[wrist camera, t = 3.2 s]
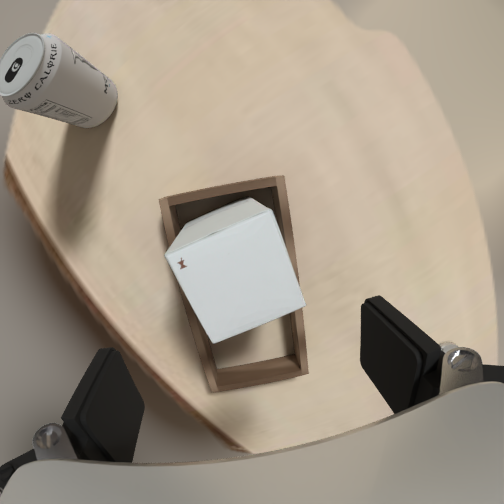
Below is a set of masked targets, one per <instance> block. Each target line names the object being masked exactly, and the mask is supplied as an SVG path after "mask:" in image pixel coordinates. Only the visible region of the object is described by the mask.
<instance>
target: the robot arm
mask: <svg viewBox="0 0 504 504" xmlns="http://www.w3.org/2000/svg"><path fill="white" fill-rule="evenodd" d="M360 362H361V366H362V368H363V369H364V371H365V372H366V374H367V375H368V376H369V378H370V379H371V381H372V382H373V383H374V385H375V386H376V388H377V389H378V391H379V392H380V394H381V395H382V396H383V398H384V399H385V401H386V402H387V404H388V405H389V406H390V408H391V409H392V411H393V412H394V415H391V416H389V417H386V418H384V419H381V420H378V421H376V422H373V423H370V424H368V425H365V426H362V427H359V428H356V429H353V430H350V431H347V432H344V433H341V434H338V435H335V436H331V437H328V438H324V439H321V440H317V441H313V442H310V443H306V444H302V445H298V446H293V447H289V448H285V449H280V450H275V451H270V452H265V453H259V454H253V455H247V456H241V457H234V458H226V459H217V460H207V461H195V462H177V463H132V460H133V456H134V451H135V447H136V442H137V438H138V433H139V429H140V425H141V421H142V416H143V413H144V401H143V399H142V397H141V395H140V393H139V392H138V390H137V388H136V386H135V384H134V382H133V380H132V378H131V375H130V374H129V371H128V369H127V367H126V365H125V363H124V360H123V358H122V356H121V354H120V352H119V351H116V350H115V349H114V348H103V349H102V348H101V349H99V350H98V352H97V353H96V355H95V357H94V359H93V360H92V362H91V364H90V366H89V367H88V369H87V371H86V372H85V374H84V376H83V378H82V379H81V381H80V383H79V385H78V387H77V388H76V390H75V392H74V394H73V396H72V398H71V399H70V401H69V403H68V405H67V407H66V409H65V411H64V413H63V415H62V417H61V419H62V420H63V421H64V423H63V425H62V426H61V425H60V424H57V423H49V424H46V425H44V426H42V427H41V428H40V429H38V430H37V431H36V433H35V435H34V437H33V447H34V449H32V450H30V451H29V452H27V453H25V454H23V455H21V456H19V457H17V458H15V459H13V460H11V461H9V462H7V463H5V464H4V465H2V466H1V467H0V504H504V366H496V365H483V364H482V359H481V356H480V355H479V354H478V353H477V352H476V351H474V350H472V349H470V348H465V347H458V346H457V345H456V344H454V343H452V342H446V343H442V344H440V345H438V344H437V343H436V342H435V341H434V340H433V339H432V338H430V337H429V336H428V335H427V334H426V333H425V332H423V331H422V330H421V329H420V328H419V327H417V326H416V325H415V324H414V323H413V322H412V321H410V320H409V319H408V318H407V317H406V316H404V315H403V314H402V313H401V312H400V311H398V310H397V309H396V308H395V307H394V306H392V305H391V304H390V303H389V302H387V301H386V300H385V299H384V298H383V297H381V296H375V297H372V298H368V299H366V300H365V302H364V304H362V305H361V348H360Z"/></svg>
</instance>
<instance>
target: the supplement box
mask: <svg viewBox="0 0 504 504" xmlns="http://www.w3.org/2000/svg"><path fill="white" fill-rule="evenodd" d="M164 256H165V258H166V260H167V262H168V264H169V265H170V267H171V269H172V271H173V273H174V275H175V277H176V279H177V281H178V282H179V284H180V286H181V288H182V290H183V292H184V293H185V295H186V297H187V299H188V301H189V302H190V304H191V306H192V308H193V310H194V312H195V313H196V315H197V317H198V319H199V321H200V322H201V324H202V326H203V328H204V329H205V331H206V333H207V335H208V336H209V338H210V340H211V341H212V343H217V342H220V341H222V340H225V339H228V338H230V337H233V336H235V335H238V334H240V333H243V332H245V331H248V330H250V329H253V328H255V327H258V326H260V325H263V324H265V323H267V322H270V321H272V320H274V319H277V318H279V317H282V316H284V315H286V314H289V313H291V312H293V311H296V310H298V309H300V308H302V307H305V306H306V303H305V300H304V298H303V295H302V292H301V289H300V286H299V283H298V280H297V278H296V275H295V272H294V269H293V266H292V263H291V260H290V257H289V255H288V252H287V249H286V246H285V243H284V240H283V238H282V235H281V232H280V229H279V227H278V224H277V221H276V219H275V216H274V213H273V211H272V210H271V209H269V208H267V207H265V206H264V205H262V204H261V203H259V202H257V201H256V200H254V199H253V198H251V197H249V196H247V197H244V198H242V199H239V200H237V201H234V202H232V203H229V204H227V205H225V206H222V207H220V208H218V209H215V210H213V211H211V212H209V213H207V214H204V215H202V216H200V217H198V218H196V219H193V220H191V221H189V222H187V223H186V224H185V226H184V227H183V229H182V230H181V231H180V233H179V234H178V236H177V237H176V239H175V240H174V242H173V243H172V244H171V246H170V247H169V249H168V250H167V252H166V253H165V255H164Z"/></svg>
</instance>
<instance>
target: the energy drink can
mask: <svg viewBox="0 0 504 504" xmlns="http://www.w3.org/2000/svg"><path fill="white" fill-rule="evenodd" d="M0 95H1V96H2V97H3V100H4V102H5V103H6V104H7V105H8V106H9V107H11V108H14V109H18V110H22V111H26V112H30V113H34V114H37V115H41V116H45V117H48V118H52V119H55V120H59V121H62V122H66V123H69V124H72V125H76V126H79V127H83V128H92V127H95V126H98V125H100V124H101V123H103V122H104V121H105V120H106V119H107V118H108V117H109V116H110V115H111V114H112V112H113V110H114V108H115V106H116V103H117V98H118V92H117V88H116V85H115V84H114V82H113V81H112V80H111V79H109V78H108V77H107V76H106V75H105V74H103V73H102V72H101V71H100V70H98V69H97V68H96V67H95V66H93V65H92V64H91V63H90V62H89V61H87V60H86V59H85V58H84V57H82V56H81V55H80V54H79V53H77V52H76V51H75V50H73V49H72V48H71V47H70V46H68V45H67V44H66V43H65V42H63V41H62V40H61V39H59V38H58V37H57V36H55V35H53V34H37V33H29V34H25V35H23V36H21V37H20V38H18V39H17V40H16V41H15V42H13V43H12V44H11V45H10V46H9V47H8V49H7V50H6V51H5V53H4V54H3V56H2V57H1V59H0Z"/></svg>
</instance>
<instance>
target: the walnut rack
mask: <svg viewBox="0 0 504 504" xmlns="http://www.w3.org/2000/svg"><path fill="white" fill-rule="evenodd" d="M265 187H271V189H272V195H273V201H274V208H275V214H276V220H277V224H278V227H279V229H280V232H281V235H282V238H283V240H284V243H285V246H286V249H287V252H288V255H289V257H290V260H291V263H292V266H293V269H294V272H295V275H296V278H297V280H298V283H299V276H298V268H297V261H296V253H295V246H294V238H293V231H292V224H291V217H290V210H289V204H288V197H287V191H286V184H285V178H284V176H272V177H266V178H260V179H254V180H248V181H242V182H237V183H231V184H226V185H221V186H215V187H210V188H205V189H200V190H195V191H191V192H186V193H181V194H177V195H172V196H168V197H164V198H161V199H159V203H160V208H161V213H162V218H163V222H164V227H165V231H166V236H167V240H168V244H169V247H170V246H171V244H172V243H173V242H174V240H175V239H176V237H177V236H178V234H179V233H180V231H181V230H180V225H179V221H178V216H177V211H176V206H175V205H176V204H181V203H186V202H191V201H195V200H200V199H205V198H210V197H215V196H221V195H226V194H231V193H237V192H242V191H248V190H254V189H259V188H265ZM178 284H179V282H178ZM299 286H300V285H299ZM179 288H180V291H181V295H182V299H183V302H184V306H185V309H186V313H187V316H188V320H189V323H190V327H191V330H192V333H193V337H194V340H195V343H196V346H197V349H198V352H199V356H200V359H201V362H202V365H203V368H204V371H205V374H206V377H207V380H208V383H209V385H210V388H211V391H212V392H219V391H226V390H232V389H238V388H244V387H249V386H255V385H260V384H265V383H270V382H275V381H280V380H284V379H288V378H293V377H297V376H301V375H305V374H309V372H308V361H307V350H306V340H305V330H304V320H303V311H302V308H300V309H298V310H296V311H293V312H291V313H290V318H291V326H292V334H293V342H294V350H295V354H293V355H289V356H284V357H280V358H275V359H271V360H266V361H261V362H256V363H250V364H245V365H239V366H234V367H228V368H222V369H217V368H216V365H215V361H214V358H213V355H212V351H211V348H210V344H209V341H208V337H207V334H206V331H205V329H204V328H203V326H202V324H201V322H200V321H199V319H198V317H197V315H196V313H195V312H194V310H193V308H192V306H191V304H190V302H189V301H188V299H187V297H186V295H185V293H184V292H183V290H182V288H181V286H180V284H179Z"/></svg>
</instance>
